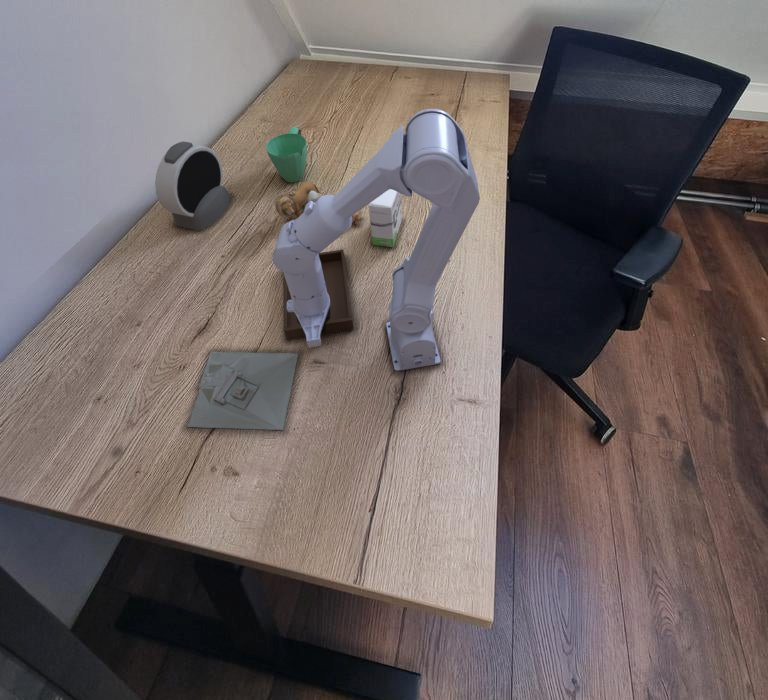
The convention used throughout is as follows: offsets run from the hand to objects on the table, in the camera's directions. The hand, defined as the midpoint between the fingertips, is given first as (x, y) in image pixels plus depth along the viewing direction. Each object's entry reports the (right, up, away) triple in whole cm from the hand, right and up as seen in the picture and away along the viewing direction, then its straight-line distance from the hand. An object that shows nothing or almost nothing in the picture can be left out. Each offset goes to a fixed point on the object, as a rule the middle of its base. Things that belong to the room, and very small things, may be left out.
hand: (319, 332), depth 81 cm
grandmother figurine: (+6, +20, +21) cm, 30 cm away
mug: (-12, +32, +38) cm, 51 cm away
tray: (-1, +5, +8) cm, 9 cm away
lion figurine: (-7, +20, +25) cm, 33 cm away
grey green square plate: (-16, -9, -6) cm, 20 cm away
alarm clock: (-32, +21, +28) cm, 47 cm away
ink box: (+12, +17, +20) cm, 29 cm away
